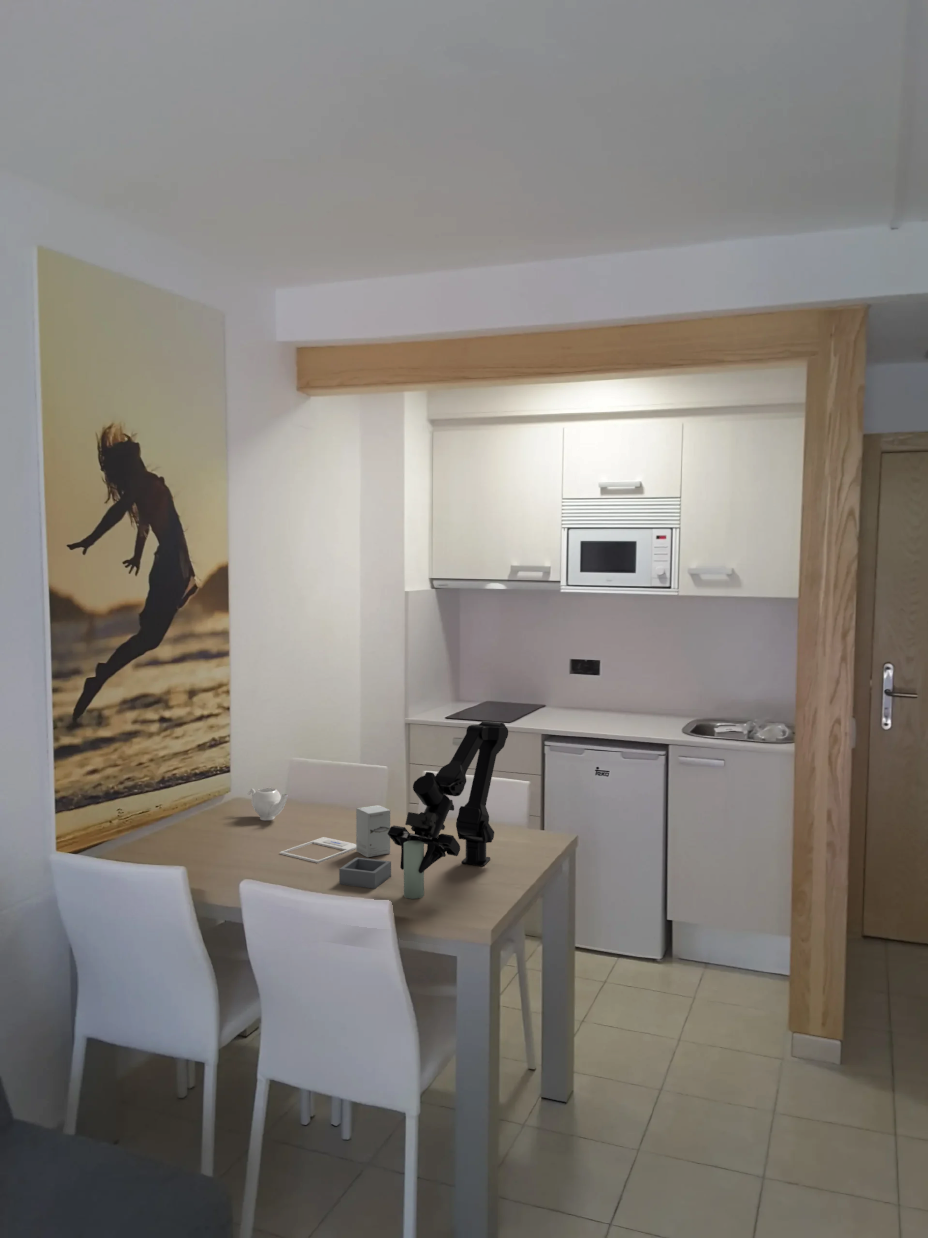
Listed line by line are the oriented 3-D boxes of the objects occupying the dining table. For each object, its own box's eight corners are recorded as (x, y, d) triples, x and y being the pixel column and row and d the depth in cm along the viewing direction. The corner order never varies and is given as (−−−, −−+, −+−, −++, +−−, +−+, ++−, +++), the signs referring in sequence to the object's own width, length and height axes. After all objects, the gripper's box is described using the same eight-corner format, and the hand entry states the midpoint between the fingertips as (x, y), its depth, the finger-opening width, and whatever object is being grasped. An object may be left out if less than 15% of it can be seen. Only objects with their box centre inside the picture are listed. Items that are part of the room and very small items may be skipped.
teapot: (260, 810, 319) (259, 782, 319) (298, 821, 306) (298, 792, 306) (235, 816, 312) (235, 787, 312) (274, 827, 299) (274, 798, 299)
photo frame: (361, 844, 279) (318, 860, 264) (361, 848, 279) (318, 864, 265) (323, 836, 288) (279, 851, 273) (323, 840, 288) (279, 855, 273)
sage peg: (408, 890, 243) (408, 839, 242) (426, 893, 241) (426, 841, 240) (400, 897, 238) (400, 845, 237) (419, 899, 236) (419, 847, 235)
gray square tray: (356, 872, 257) (356, 857, 257) (391, 876, 254) (391, 861, 253) (339, 884, 247) (339, 868, 247) (375, 888, 244) (374, 873, 244)
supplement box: (367, 858, 269) (367, 813, 268) (355, 851, 275) (355, 807, 274) (391, 854, 273) (391, 809, 272) (378, 847, 279) (378, 804, 278)
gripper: (391, 794, 246) (365, 848, 237) (454, 803, 237) (430, 860, 228) (408, 817, 253) (384, 870, 245) (470, 827, 244) (447, 883, 235)
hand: (410, 870), depth 238 cm, fingers closed on sage peg, 5 cm apart
